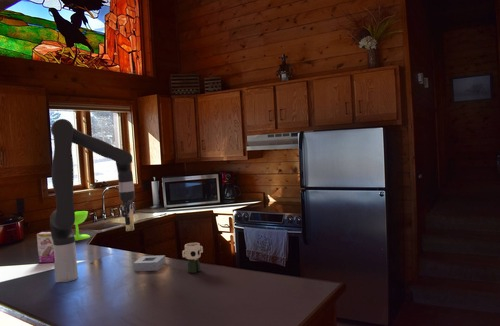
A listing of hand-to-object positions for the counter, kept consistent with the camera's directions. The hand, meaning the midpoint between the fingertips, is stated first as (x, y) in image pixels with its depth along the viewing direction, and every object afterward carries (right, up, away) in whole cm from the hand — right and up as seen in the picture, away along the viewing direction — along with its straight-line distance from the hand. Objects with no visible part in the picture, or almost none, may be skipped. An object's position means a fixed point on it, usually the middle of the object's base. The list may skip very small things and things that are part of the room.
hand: (129, 223), depth 203 cm
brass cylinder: (0, -3, 0) cm, 3 cm away
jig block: (+12, -21, -4) cm, 24 cm away
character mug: (+35, -20, -17) cm, 44 cm away
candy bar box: (-50, -24, +19) cm, 59 cm away
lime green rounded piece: (-61, -23, +80) cm, 103 cm away
